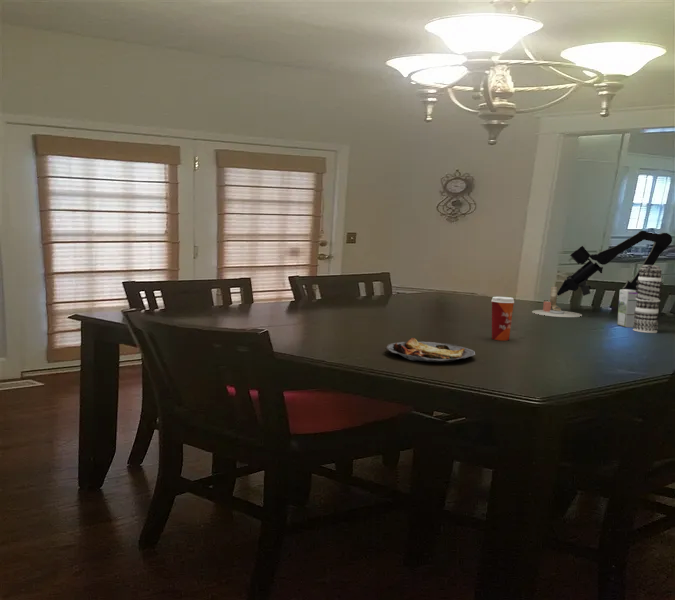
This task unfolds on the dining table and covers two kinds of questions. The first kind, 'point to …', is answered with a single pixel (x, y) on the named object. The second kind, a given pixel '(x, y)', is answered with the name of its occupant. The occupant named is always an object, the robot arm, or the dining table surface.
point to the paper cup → (501, 317)
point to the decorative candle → (647, 299)
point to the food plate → (429, 351)
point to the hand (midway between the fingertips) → (557, 294)
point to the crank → (554, 299)
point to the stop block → (547, 306)
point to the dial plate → (557, 313)
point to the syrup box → (627, 307)
